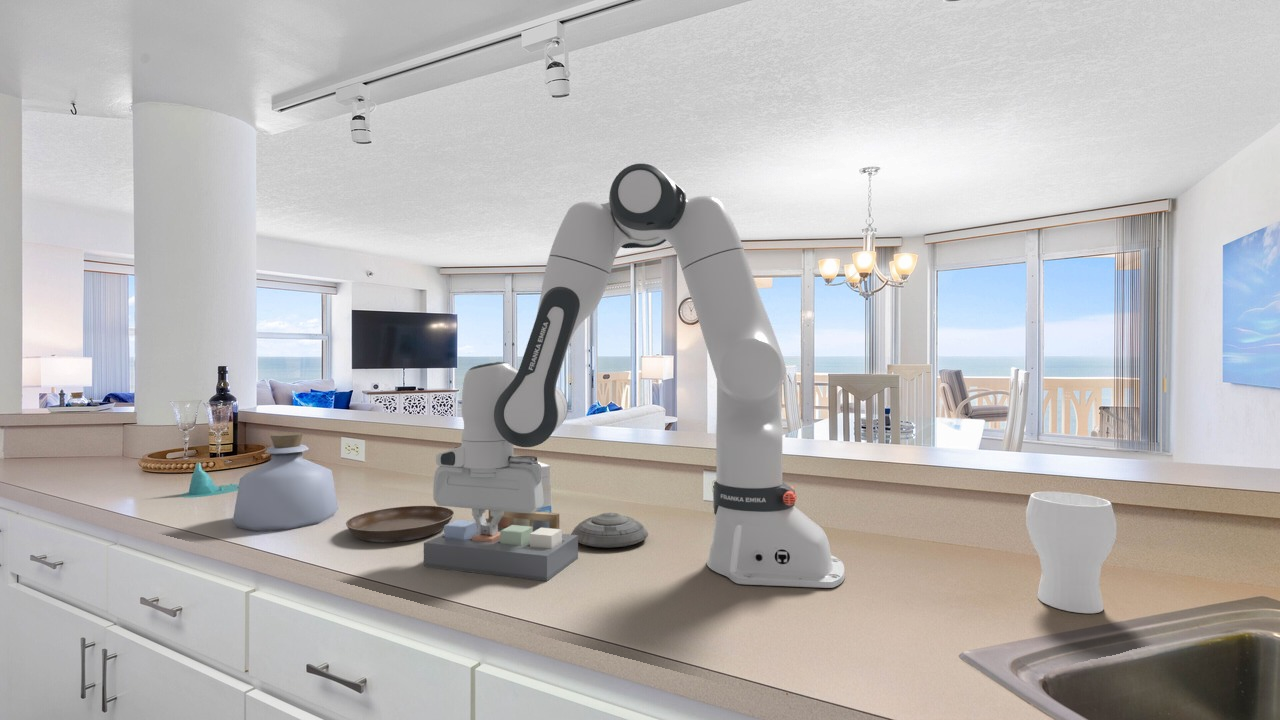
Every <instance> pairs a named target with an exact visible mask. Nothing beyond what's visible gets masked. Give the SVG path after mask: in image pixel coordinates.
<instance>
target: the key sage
mask: <svg viewBox="0 0 1280 720" xmlns="http://www.w3.org/2000/svg"><path fill="white" fill-rule="evenodd" d="M532 532H533V527H530V526H519V525H511V526H509V527H507V528H505V529H503V530H501V531H500V543H501V544H510V545H520V546H523V545H524V544H526V543H528V542H530V533H532Z"/></svg>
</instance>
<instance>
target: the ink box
mask: <svg viewBox="0 0 1280 720" xmlns="http://www.w3.org/2000/svg"><path fill="white" fill-rule="evenodd" d="M537 462H538V463H539V464H540V465H541V467H542V478H541V482H542V488H543V500H544V503H543V506H542V507H541V508H540V510H538V511H537V512H546V513H552V484H551V483H552V480H551V478H552V477H551V476H552V475H551V465H550V464H546V463H543V462H540V461H537Z"/></svg>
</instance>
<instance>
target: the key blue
mask: <svg viewBox="0 0 1280 720" xmlns="http://www.w3.org/2000/svg"><path fill="white" fill-rule="evenodd" d="M477 526H478V525H477V523H476V521H475V520H464V519H456V520H453V521H452V522H451V521H450V522H449V523H448V524H447V525H444V528H443V534H444V538H452V539H462V540H465V539H467V538H469V537H471V536H473V535H475V534H477Z"/></svg>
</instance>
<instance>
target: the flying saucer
mask: <svg viewBox="0 0 1280 720" xmlns="http://www.w3.org/2000/svg"><path fill="white" fill-rule="evenodd" d="M570 535H578V544H580V545H583V546H588V547H594V548H608V549H609V548H610V549H611V548H621V547H622V548H623V547H628V546H633V545H636V544H638V543H640V542H643V541H644V540H645V539H646V538H647V537H648V536H649V532H648V530H647V529H646V527H645V526H644V525H643V524H642V523H641V522H640V521H638V520H636V519H634V518H632V517H630V516H625V515H623V514H619V513H617V512H603V513H600V514H598V515H595V516H592V517H588V518H586V519H584V520H582V521H581V522H580V523H578V524H577V525H576V526H575V527H574V529H572V532H571V533H570Z"/></svg>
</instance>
